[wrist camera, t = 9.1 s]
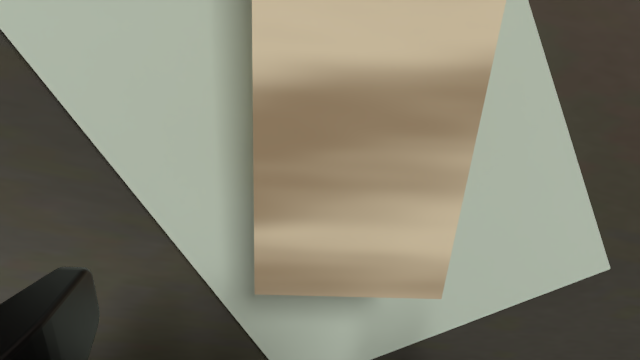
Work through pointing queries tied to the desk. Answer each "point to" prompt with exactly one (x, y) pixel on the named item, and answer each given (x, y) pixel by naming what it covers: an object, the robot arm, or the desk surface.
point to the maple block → (364, 140)
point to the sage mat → (237, 166)
